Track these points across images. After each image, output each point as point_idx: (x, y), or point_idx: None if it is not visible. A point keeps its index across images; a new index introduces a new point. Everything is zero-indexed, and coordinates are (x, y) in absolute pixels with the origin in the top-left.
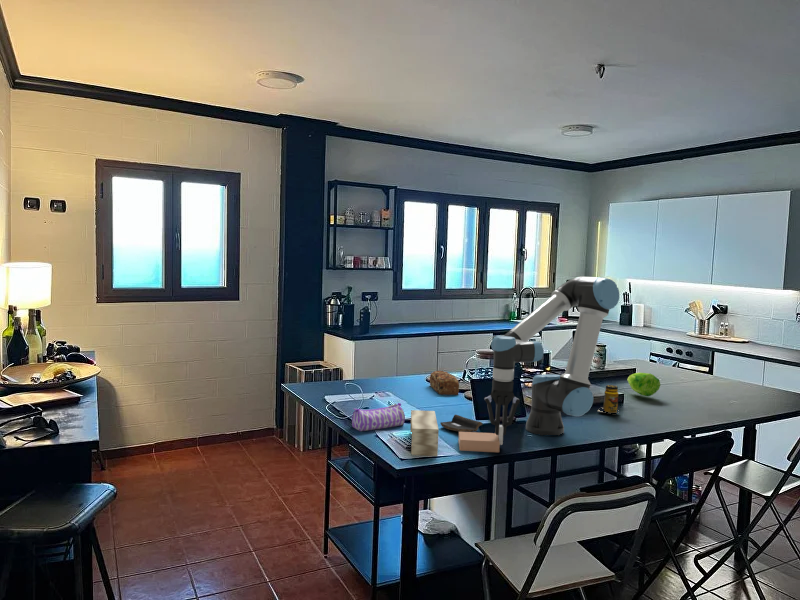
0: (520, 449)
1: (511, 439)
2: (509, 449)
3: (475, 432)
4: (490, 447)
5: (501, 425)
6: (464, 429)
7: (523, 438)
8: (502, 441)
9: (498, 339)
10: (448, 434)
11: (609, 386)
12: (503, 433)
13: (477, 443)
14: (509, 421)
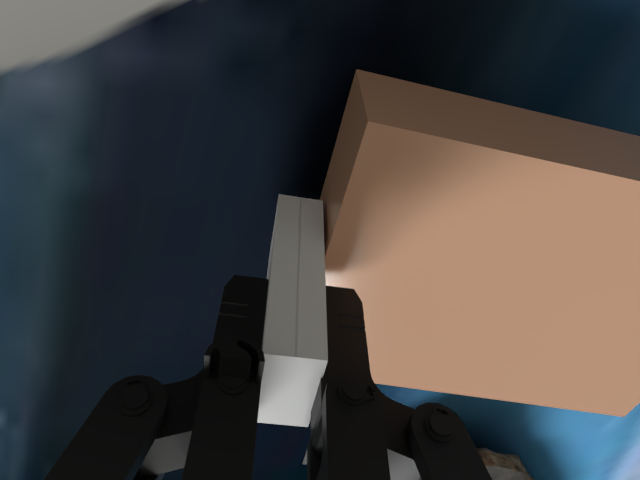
0: (86, 141)
1: (135, 362)
2: (209, 150)
3: (487, 395)
4: (464, 112)
5: (268, 406)
6: (496, 462)
7: (33, 374)
8: (280, 214)
9: None
10: (554, 444)
11: None
12: (258, 292)
13: (626, 164)
14: (136, 439)
